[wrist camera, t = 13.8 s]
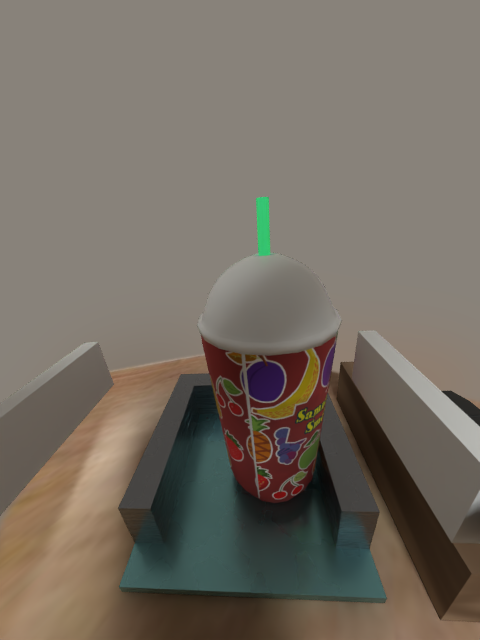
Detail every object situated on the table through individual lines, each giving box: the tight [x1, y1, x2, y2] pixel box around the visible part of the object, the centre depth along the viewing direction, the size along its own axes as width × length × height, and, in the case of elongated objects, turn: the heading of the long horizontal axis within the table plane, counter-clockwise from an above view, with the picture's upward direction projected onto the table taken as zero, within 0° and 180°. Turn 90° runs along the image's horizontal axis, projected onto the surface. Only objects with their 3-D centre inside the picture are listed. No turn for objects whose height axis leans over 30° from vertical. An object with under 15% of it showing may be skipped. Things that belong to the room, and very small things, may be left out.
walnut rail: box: [337, 362, 480, 622], centre depth 18 cm, size 2×16×5 cm, turn 177°
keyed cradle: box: [118, 374, 387, 603], centre depth 19 cm, size 15×15×4 cm
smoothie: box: [197, 197, 342, 503], centre depth 15 cm, size 8×8×20 cm
